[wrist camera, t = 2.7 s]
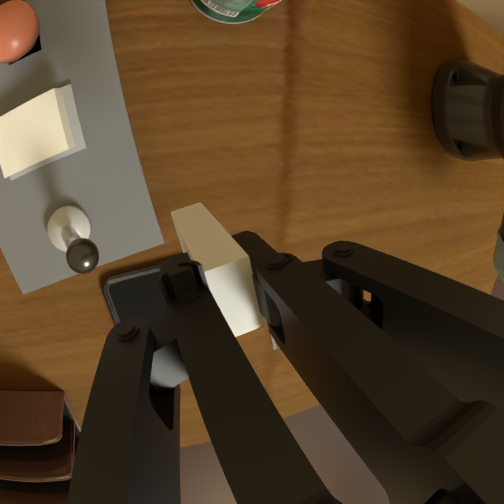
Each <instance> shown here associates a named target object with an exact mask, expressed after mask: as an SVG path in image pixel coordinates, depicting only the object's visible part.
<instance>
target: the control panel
mask: <svg viewBox="0 0 504 504" xmlns="http://www.w3.org/2000/svg"><path fill="white" fill-rule="evenodd" d="M24 2H26V3H28V4H29V6H30V7H31V8H32V9H33V10H34V11H35V12H36V13H37V15H38V16H39V19H40V31H39V33H40V41H41V48H42V50H40V51H38V52H36V53H33V54H31V55H29V56H27V57H25V58H23V59H21V60H19V59H18V60H16V61H14V62H11V63H4V64H3V63H0V117H1V116H3V115H5V114H6V113H8V112H10V111H11V110H13V109H15V108H17V107H18V106H20V105H22V104H24V103H26V102H28V101H29V100H31V99H33V98H35V97H37V96H39V95H41V94H43V93H45V92H47V91H49V90H51V89H53V88H60V89H61V90H62V94H63V99H64V104H65V108H66V112H67V116H68V121H69V125H70V128H71V132H72V136H73V140H74V144H75V147H73V148H71V149H68V150H66V151H63V152H61V153H59V154H56V155H54V156H52V157H49V158H47V159H45V160H43V161H40V162H38V163H36V164H34V165H32V166H29V167H27V168H25V169H23V170H21V171H19V172H17V173H15V174H13V175H11V176H9V177H7V178H5V179H4V175H3V172H2V169H1V165H0V248H1V250H2V252H3V254H4V256H5V259H6V261H7V263H8V265H9V267H10V269H11V271H12V273H13V275H14V277H15V279H16V281H17V283H18V285H19V287H20V289H21V291H22V293H23V295H24V294H26V293H29V292H32V291H34V290H37V289H39V288H42V287H44V286H47V285H50V284H52V283H55V282H58V281H60V280H63V279H66V278H68V277H71V276H74V275H76V274H79V273H76V272H75V271H73V270H72V269H71V268H70V267H69V265H68V263H67V260H66V251H67V247H66V245H65V243H64V241H63V239H62V237H61V230H62V228H63V227H65V226H67V225H70V226H72V227H73V228H74V229H75V230H76V231H77V233H78V234H79V235H80V237H81V238H87V239H89V240H91V241H93V242H94V243H95V245H96V246H97V248H98V250H99V261H98V264H97V266H96V267H98V266H101V265H104V264H107V263H109V262H112V261H115V260H118V259H121V258H123V257H126V256H129V255H132V254H135V253H138V252H141V251H143V250H146V249H149V248H152V247H155V246H158V245H161V244H164V239H163V235H162V232H161V229H160V225H159V222H158V219H157V216H156V213H155V210H154V206H153V203H152V200H151V196H150V193H149V190H148V186H147V183H146V179H145V176H144V172H143V169H142V165H141V162H140V158H139V154H138V151H137V147H136V143H135V139H134V136H133V132H132V128H131V124H130V120H129V116H128V111H127V107H126V103H125V99H124V94H123V90H122V86H121V81H120V76H119V72H118V67H117V62H116V57H115V52H114V47H113V41H112V36H111V30H110V25H109V19H108V12H107V6H106V0H24Z"/></svg>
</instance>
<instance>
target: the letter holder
mask: <svg viewBox="0 0 504 504" xmlns="http://www.w3.org/2000/svg"><path fill="white" fill-rule="evenodd" d="M80 433H81V427H80V425H79V423H78V421H77V419H76V416H75V414H74V412H73V410H72V408H71V406H70V403H69V401H68V399H67V397H66V394H65V392H64V391H13V390H0V504H67V502H68V496H69V489H70V483H71V477H72V472H73V466H74V461H75V456H76V451H77V446H78V442H79V437H80Z"/></svg>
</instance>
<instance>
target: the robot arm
mask: <svg viewBox="0 0 504 504" xmlns="http://www.w3.org/2000/svg"><path fill="white" fill-rule="evenodd" d="M432 111H433V119H434V124H435V128H436V132H437V135H438V138H439V140H440V142H441V144H442V146H443V147H444V149H445V150H446V151H447V153H448V154H450V155H451V156H452V157H454V158H458V159H462V160H465V161H478V160H486V159H495V158H503V159H504V75H502V74H498V73H496V72H494V71H491V70H489V69H487V68H485V67H482V66H480V65H477V64H475V63H472V62H470V61H466V60H450V61H447V62H446V63H444V64H443V65H442V66H441V68H440V69H439V71H438V73H437V75H436V78H435V81H434V86H433V93H432ZM171 215H172V218H173V221H174V225H175V228H176V231H177V235H178V238H179V241H180V244H181V247H182V251H183V253H182V254H179V255H177V256H174V257H171V258H168V259H165V260H163V262H162V264H161V266H160V271H161V273H160V274H159V275H158V282H159V285H160V287H161V290H162V292H163V295H164V297H165V300H166V302H167V309H166V310H165V312H164V313H163V314H162V315H161V316H160V317H158V318H157V319H155V320H154V321H152V322H150V323H149V324H148V322H147V321H146V320H145V319H141V318H130V319H127V320H124V321H122V322H120V323H118V324H117V325H115V326H114V327H113V328H112V329H111V330H110V332H109V334H108V336H107V338H106V341H105V344H104V348H103V351H102V354H101V357H100V361H99V364H98V367H97V371H96V374H95V378H94V381H93V385H92V388H91V392H90V396H89V400H88V404H87V407H86V411H85V416H84V420H83V424H82V428H81V433H80V437H79V442H78V446H77V451H76V456H75V461H74V466H73V472H72V477H71V483H70V489H69V496H68V502H67V504H181V497H180V385H179V383H181V382H182V381H184V380H185V379H187V378H188V377H189V380H190V383H191V386H192V389H193V392H194V395H195V398H196V400H197V403H198V406H199V409H200V412H201V415H202V418H203V420H204V423H205V426H206V428H207V431H208V434H209V436H210V439H211V442H212V444H213V447H214V449H215V452H216V455H217V457H218V460H219V462H220V465H221V467H222V469H223V472H224V474H225V477H226V479H227V481H228V484H229V486H230V488H231V490H232V493H233V495H234V497H235V500H236V502H237V504H342V503H341V502H340V501H338V500H337V499H335V498H334V497H333V496H332V495H331V494H330V492H329V491H328V489H327V488H326V487H325V485H324V483H323V482H322V480H321V479H320V477H319V476H318V474H317V473H316V471H315V470H314V468H313V467H312V465H311V464H310V462H309V460H308V459H307V457H306V456H305V454H304V453H303V451H302V450H301V448H300V446H299V445H298V443H297V442H296V440H295V438H294V437H293V435H292V433H291V432H290V430H289V429H288V427H287V425H286V424H285V422H284V420H283V419H282V417H281V415H280V414H279V412H278V410H277V409H276V407H275V405H274V404H273V402H272V400H271V399H270V397H269V395H268V394H267V392H266V390H265V388H264V387H263V385H262V383H261V382H260V380H259V378H258V376H257V375H256V373H255V371H254V369H253V368H252V366H251V364H250V362H249V361H248V359H247V357H246V355H245V354H244V352H243V350H242V348H241V346H240V345H239V343H238V341H237V339H236V337H237V336H239V335H242V334H244V333H247V332H249V331H252V330H254V329H257V328H259V327H262V326H264V322H263V318H262V315H263V316H264V318H265V319H266V320H267V323H268V328H269V333H270V337H271V342H272V346H273V349H274V350H275V349H277V347H276V343H277V344H278V346H279V347H280V349H281V350H282V351H283V353H284V354H285V356H286V357H287V358H288V360H289V361H290V363H291V364H292V365H293V367H294V368H295V370H296V371H297V372H298V374H299V375H300V377H301V378H302V379H303V381H304V382H305V384H306V385H307V386H308V388H309V389H310V390H311V392H312V393H313V395H314V396H315V397H316V399H317V400H318V401H319V403H320V404H321V406H322V407H323V408H324V409H325V411H326V412H327V414H328V415H329V416H330V418H331V419H332V420H333V422H334V423H335V425H336V426H337V427H338V428H339V430H340V431H341V433H342V434H343V435H344V437H345V438H346V439H347V440H348V442H349V443H350V445H351V446H352V447H353V449H354V450H355V451H356V452H357V454H358V455H359V456H360V458H361V459H362V460H363V462H364V463H365V464H366V466H367V467H368V468H369V470H370V471H371V472H372V473H373V475H374V476H375V477H376V479H377V480H378V481H379V482H380V484H381V485H382V486H383V488H384V489H385V490H386V493H387V495H388V498H389V502H390V504H504V301H503V300H501V299H499V298H496V297H494V296H491V295H489V294H487V293H484V292H482V291H480V290H477V289H475V288H472V287H470V286H467V285H465V284H462V283H460V282H458V281H455V280H453V279H450V278H448V277H445V276H443V275H440V274H437V273H435V272H432V271H430V270H427V269H425V268H422V267H419V266H417V265H414V264H412V263H409V262H406V261H404V260H401V259H399V258H396V257H393V256H391V255H388V254H385V253H382V252H380V251H377V250H374V249H372V248H369V247H366V246H363V245H361V244H358V243H355V242H350V241H338V242H333V243H331V244H329V245H327V246H326V247H325V248H323V251H322V259H320V260H315V261H309V262H302V261H301V260H299V259H298V258H297V257H296V256H294V255H292V254H289V253H277V252H276V251H275V250H274V249H273V248H272V247H271V246H269V245H268V244H267V243H266V242H265V241H264V240H263V239H261V237H259V236H258V235H257V234H256V233H253V232H249V231H244V232H241V233H238V234H235V235H232V236H230V234H229V233H228V232H227V231H226V230H225V229H224V228H223V227H222V226H221V224H220V223H219V222H218V221H217V220H216V219H215V218H214V217H213V216H212V214H211V213H210V212H209V211H208V210H207V209H206V208H205V207H204V206H203V204H202V203H201V202H200V203H196V204H193V205H190V206H187V207H184V208H181V209H178V210H175V211H172V212H171ZM497 235H498V237H497V242H496V246H495V251H494V255H493V263H494V267H495V269H496V271H497V273H498V274H499V276H500V277H501V279H502V280H503V281H504V214H503V218H502V222H501V226H500V228H499V229H498V232H497ZM364 290H365V291H367V292H370V293H371V302H369V301H366V300H364V299H363V298H364ZM461 400H462V401H461Z"/></svg>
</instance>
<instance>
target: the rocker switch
mask: <svg viewBox="0 0 504 504" xmlns="http://www.w3.org/2000/svg"><path fill="white" fill-rule="evenodd" d="M73 147H75V144H74V140H73V136H72V132H71V128H70V125H69V121H68V116H67V112H66V108H65V104H64V99H63V94H62V90H61V89H60V88H53V89H51V90H49V91H47V92H45V93H43V94H41V95H39V96H37V97H35V98H33V99H31V100H29V101H28V102H26V103H24V104H22V105H20V106H18V107H17V108H15V109H13V110H11V111H10V112H8V113H6V114H5V115H3V116H1V117H0V165H1V169H2V172H3V175H4V179H5V178H7V177H9V176H11V175H13V174H15V173H17V172H19V171H21V170H23V169H25V168H27V167H29V166H32V165H34V164H36V163H38V162H40V161H43V160H45V159H47V158H49V157H52V156H54V155H56V154H59V153H61V152H63V151H66V150H68V149H71V148H73Z"/></svg>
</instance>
